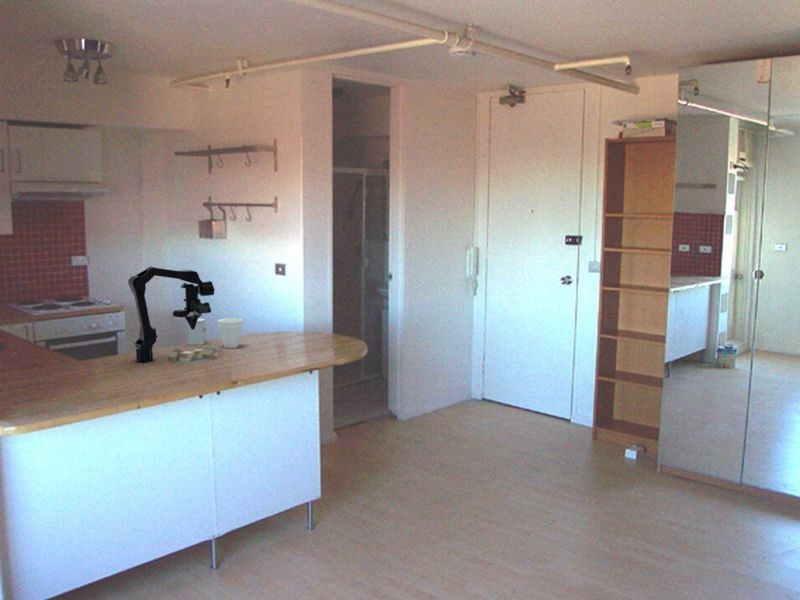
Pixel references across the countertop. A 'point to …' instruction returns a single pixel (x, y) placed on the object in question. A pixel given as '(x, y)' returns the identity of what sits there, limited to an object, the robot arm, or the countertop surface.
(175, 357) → the number block
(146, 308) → the robot arm
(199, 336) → the supplement box
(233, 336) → the cup
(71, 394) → the countertop surface
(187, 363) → the mat
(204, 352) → the number block
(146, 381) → the countertop surface
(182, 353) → the plain bar
